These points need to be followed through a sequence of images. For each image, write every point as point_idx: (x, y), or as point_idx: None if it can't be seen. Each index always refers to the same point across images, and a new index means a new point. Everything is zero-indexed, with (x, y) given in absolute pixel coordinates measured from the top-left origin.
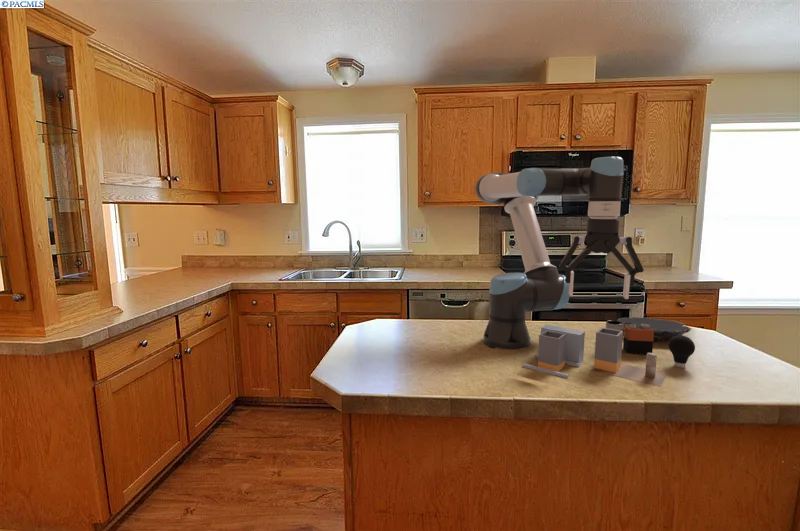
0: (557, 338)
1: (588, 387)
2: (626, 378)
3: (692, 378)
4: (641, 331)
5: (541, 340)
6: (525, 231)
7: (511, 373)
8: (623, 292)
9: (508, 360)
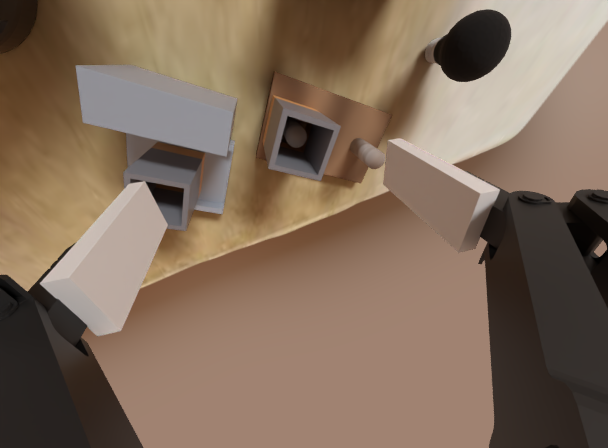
0: (180, 228)
1: (256, 205)
2: None
3: (433, 89)
4: None
5: None
6: None
7: None
8: (397, 155)
9: (61, 138)
